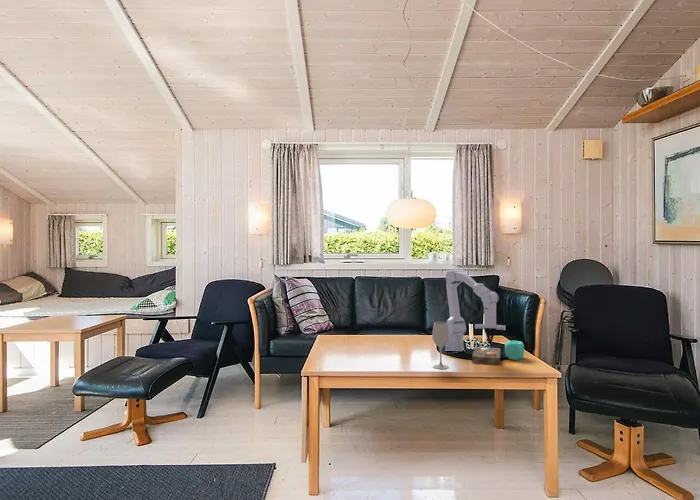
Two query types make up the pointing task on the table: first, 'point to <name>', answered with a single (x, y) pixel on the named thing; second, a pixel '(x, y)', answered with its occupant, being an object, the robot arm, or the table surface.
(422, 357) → the table surface
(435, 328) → the wineglass
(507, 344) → the decorative dice
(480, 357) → the button panel
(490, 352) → the terracotta button
